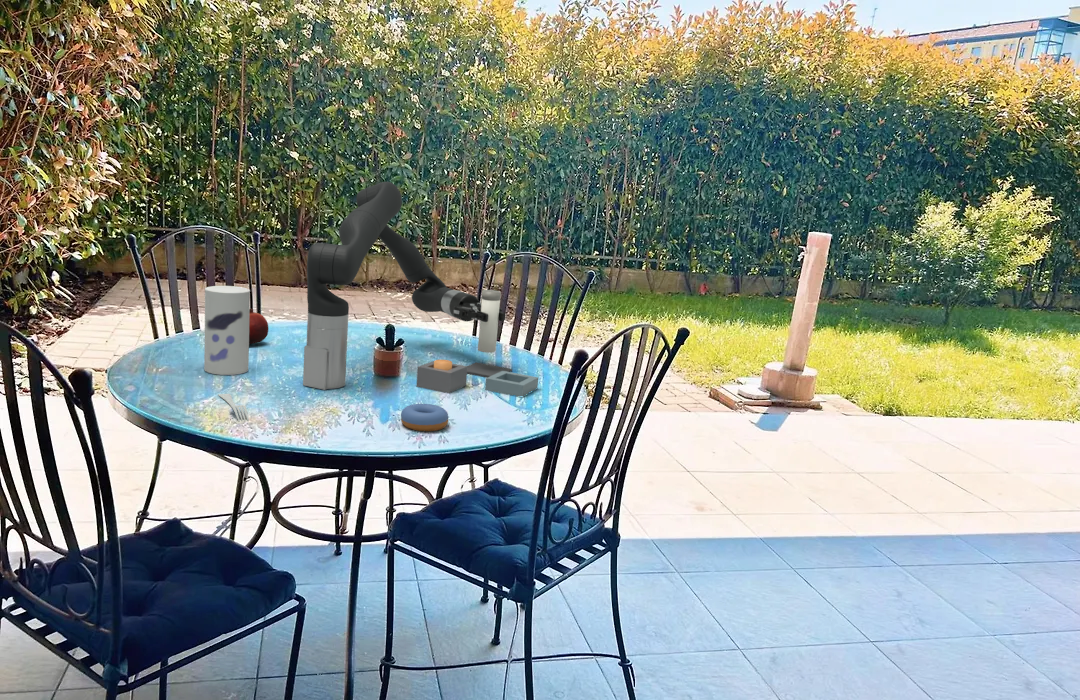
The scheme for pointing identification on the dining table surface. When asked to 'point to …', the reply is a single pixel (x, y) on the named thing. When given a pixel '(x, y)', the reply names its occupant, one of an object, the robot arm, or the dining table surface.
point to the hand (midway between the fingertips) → (495, 317)
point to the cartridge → (489, 321)
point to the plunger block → (441, 377)
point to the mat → (484, 369)
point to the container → (226, 330)
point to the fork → (235, 406)
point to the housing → (511, 383)
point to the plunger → (443, 364)
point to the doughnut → (424, 417)
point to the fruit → (257, 327)
